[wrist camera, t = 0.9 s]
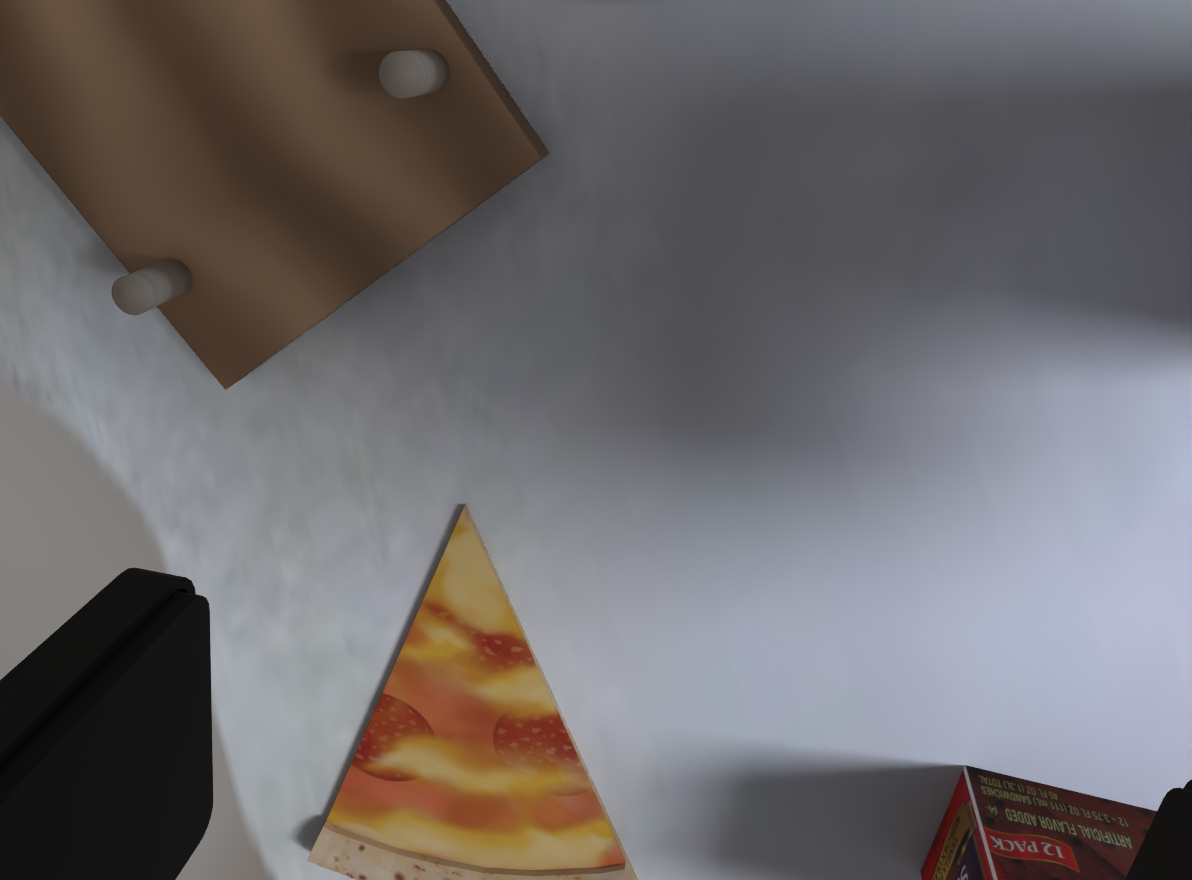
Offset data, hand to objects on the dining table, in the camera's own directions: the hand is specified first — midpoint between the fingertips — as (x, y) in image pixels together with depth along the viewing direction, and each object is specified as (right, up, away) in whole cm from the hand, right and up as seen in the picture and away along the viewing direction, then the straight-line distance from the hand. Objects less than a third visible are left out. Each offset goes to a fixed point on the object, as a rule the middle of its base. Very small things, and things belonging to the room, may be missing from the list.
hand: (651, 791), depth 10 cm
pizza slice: (-3, -11, +38) cm, 39 cm away
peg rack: (-14, +18, +26) cm, 35 cm away
